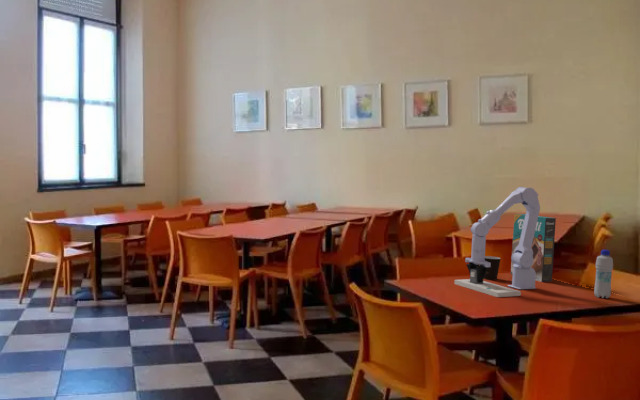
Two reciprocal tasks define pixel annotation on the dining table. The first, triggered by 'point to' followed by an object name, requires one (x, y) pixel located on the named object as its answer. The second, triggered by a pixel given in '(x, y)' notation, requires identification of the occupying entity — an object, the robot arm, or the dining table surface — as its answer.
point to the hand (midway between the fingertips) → (476, 281)
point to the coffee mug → (492, 268)
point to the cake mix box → (538, 245)
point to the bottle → (603, 274)
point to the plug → (474, 277)
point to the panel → (489, 288)
